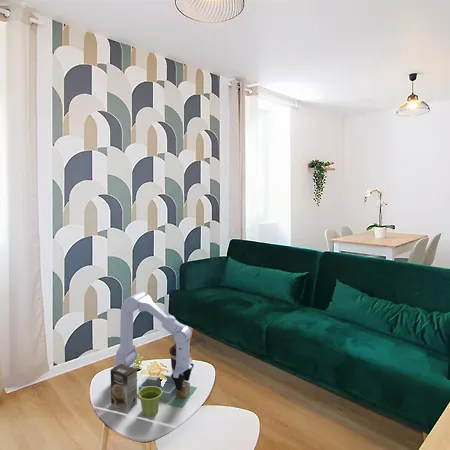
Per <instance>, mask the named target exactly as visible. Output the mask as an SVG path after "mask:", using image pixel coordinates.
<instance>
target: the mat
mask: <svg viewBox="0 0 450 450" xmlns="http://www.w3.org/2000/svg"><path fill="white" fill-rule="evenodd" d="M196 390H197V386H193V385H190V393H189V395H188V396H187V398H186V399H183V398H178V397H176V393H175V394H174V396H173V397H172V398H171V399H170V400H169V402H168V405H170V406H174V407H178V408H184V406H185V405H186V403H187V402H188V401H189V399H190V398H191V396H192V395H193V394H194V392H195V391H196Z"/></svg>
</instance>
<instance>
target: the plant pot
mask: <svg viewBox="0 0 450 450" xmlns="http://www.w3.org/2000/svg"><path fill="white" fill-rule="evenodd" d="M161 395H162V390H161V389H160V388H159V387H156V386H148V387H144V388H142V389H141V390H140V391H139V390H138V392H137V397H138V398H139V400H140V404H141V410H142V412H141V413H142V415H144V416H146V417H153V416H156V414H158V412H159V408H160V407H159V406H160V400H161V398H160V397H161Z"/></svg>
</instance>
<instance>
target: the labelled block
mask: <svg viewBox="0 0 450 450" xmlns="http://www.w3.org/2000/svg"><path fill="white" fill-rule="evenodd" d="M190 386H191V383H190V382H189V381H185V380H183V385H182V390H181V391H180V390H177V389H176V393H175V394H176V397H178V398H183V399H186V398H187V396H188V395H189V393H190Z"/></svg>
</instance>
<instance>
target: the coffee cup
mask: <svg viewBox="0 0 450 450" xmlns="http://www.w3.org/2000/svg"><path fill="white" fill-rule="evenodd" d="M191 350H192V348H191V347H190V353H191ZM169 354H170V364H171V371H172V374H173V373H174V371H175V367H176V343H174V344H173V345H172V346H171V347H169ZM172 374H171V375H172ZM181 375H182V376H183V372H182V373H181Z"/></svg>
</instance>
